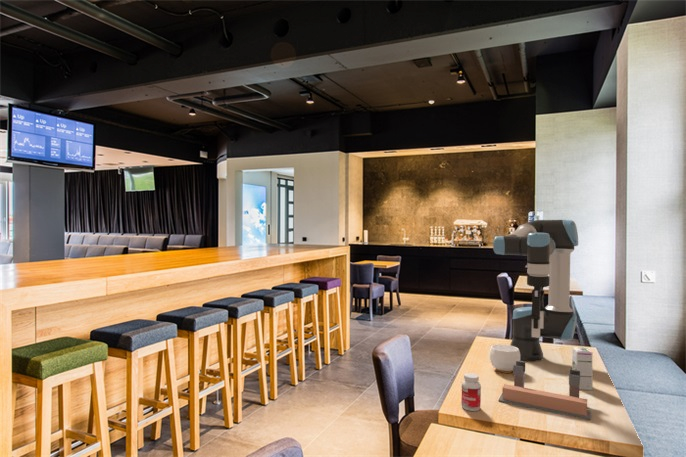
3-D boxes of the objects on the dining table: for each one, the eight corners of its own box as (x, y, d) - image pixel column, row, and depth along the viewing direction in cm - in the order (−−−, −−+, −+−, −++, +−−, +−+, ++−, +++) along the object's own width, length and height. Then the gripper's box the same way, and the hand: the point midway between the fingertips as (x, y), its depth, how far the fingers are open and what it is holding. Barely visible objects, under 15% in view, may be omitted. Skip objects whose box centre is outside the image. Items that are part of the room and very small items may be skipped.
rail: (504, 395, 156) (504, 384, 156) (587, 411, 143) (587, 399, 142) (502, 398, 152) (502, 387, 152) (586, 416, 139) (587, 403, 139)
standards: (513, 388, 164) (513, 360, 164) (582, 401, 152) (583, 371, 152) (510, 394, 158) (510, 365, 158) (582, 408, 146) (582, 377, 146)
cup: (488, 373, 181) (488, 350, 181) (490, 364, 192) (490, 342, 192) (520, 377, 176) (520, 353, 176) (520, 368, 188) (520, 345, 187)
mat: (502, 394, 157) (502, 393, 157) (590, 412, 143) (590, 410, 143) (498, 401, 151) (498, 399, 151) (590, 420, 137) (590, 418, 137)
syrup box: (593, 390, 163) (593, 351, 163) (576, 389, 164) (576, 350, 164) (587, 384, 168) (588, 347, 168) (571, 383, 169) (571, 346, 169)
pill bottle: (458, 408, 145) (458, 375, 145) (466, 402, 150) (466, 370, 150) (476, 413, 141) (476, 379, 141) (483, 407, 146) (483, 375, 146)
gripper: (530, 270, 171) (530, 323, 171) (522, 278, 149) (522, 339, 150) (551, 271, 167) (551, 325, 168) (546, 280, 145) (546, 342, 146)
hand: (537, 332), depth 159 cm, fingers open, 13 cm apart
